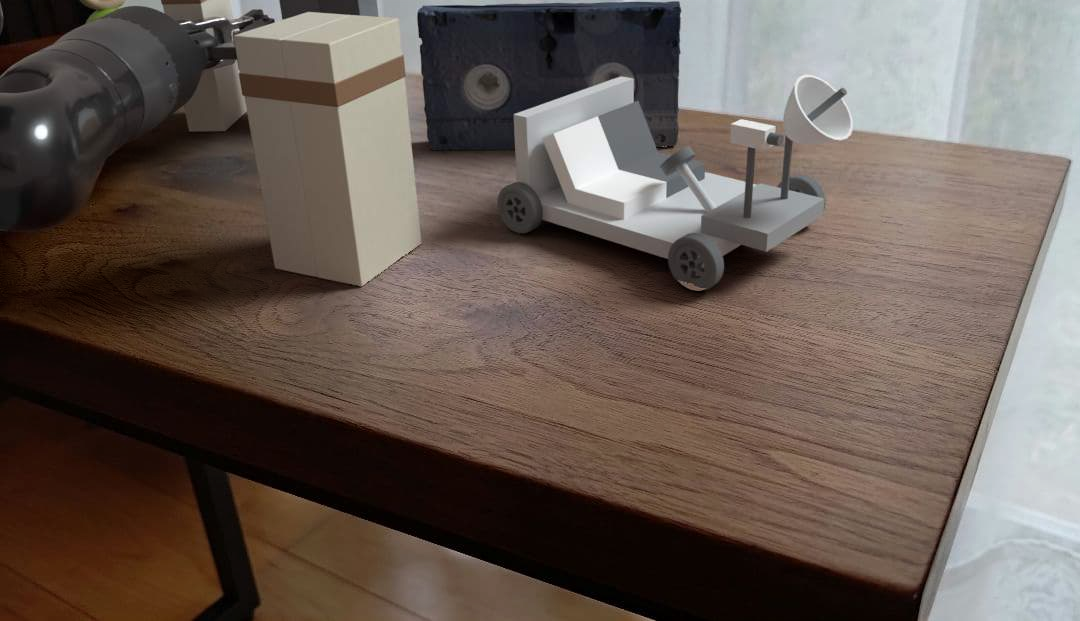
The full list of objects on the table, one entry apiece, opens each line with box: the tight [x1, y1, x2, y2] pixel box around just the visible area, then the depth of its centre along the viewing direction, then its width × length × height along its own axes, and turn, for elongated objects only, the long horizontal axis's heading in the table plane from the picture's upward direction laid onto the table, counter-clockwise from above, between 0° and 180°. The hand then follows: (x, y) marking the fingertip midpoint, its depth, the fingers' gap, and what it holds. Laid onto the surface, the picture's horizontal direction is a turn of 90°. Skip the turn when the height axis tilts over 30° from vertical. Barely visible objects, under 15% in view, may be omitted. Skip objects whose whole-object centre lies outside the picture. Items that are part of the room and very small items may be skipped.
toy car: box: [497, 74, 854, 290], centre depth 56 cm, size 18×10×12 cm
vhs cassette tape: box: [416, 0, 682, 151], centre depth 71 cm, size 18×3×10 cm, turn 84°
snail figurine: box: [78, 0, 127, 24], centre depth 98 cm, size 5×6×12 cm
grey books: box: [278, 0, 379, 20], centre depth 78 cm, size 6×6×14 cm
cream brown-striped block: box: [234, 12, 422, 287], centre depth 54 cm, size 6×6×13 cm
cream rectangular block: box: [160, 0, 247, 133], centre depth 79 cm, size 3×6×13 cm, turn 177°
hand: (208, 23), depth 80 cm, fingers open, 8 cm apart
